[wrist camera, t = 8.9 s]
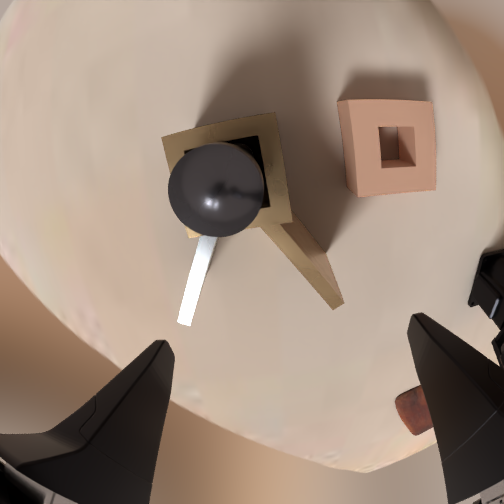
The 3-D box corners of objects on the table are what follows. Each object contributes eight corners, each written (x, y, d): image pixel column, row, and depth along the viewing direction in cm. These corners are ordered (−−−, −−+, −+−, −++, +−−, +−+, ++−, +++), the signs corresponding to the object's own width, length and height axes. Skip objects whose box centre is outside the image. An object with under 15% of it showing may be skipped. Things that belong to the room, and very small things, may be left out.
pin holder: (413, 101, 14) (432, 102, 12) (418, 180, 17) (435, 190, 15) (336, 101, 15) (347, 99, 13) (346, 187, 18) (357, 197, 16)
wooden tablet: (390, 395, 31) (393, 404, 30) (450, 363, 28) (454, 372, 27) (409, 436, 41) (410, 442, 40) (449, 416, 38) (451, 422, 37)
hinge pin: (260, 127, 16) (253, 135, 9) (270, 179, 18) (270, 230, 10) (206, 137, 17) (157, 157, 9) (218, 187, 18) (182, 243, 11)
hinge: (309, 109, 15) (331, 106, 10) (326, 258, 21) (344, 308, 15) (159, 139, 17) (117, 152, 11) (198, 275, 22) (179, 326, 16)
